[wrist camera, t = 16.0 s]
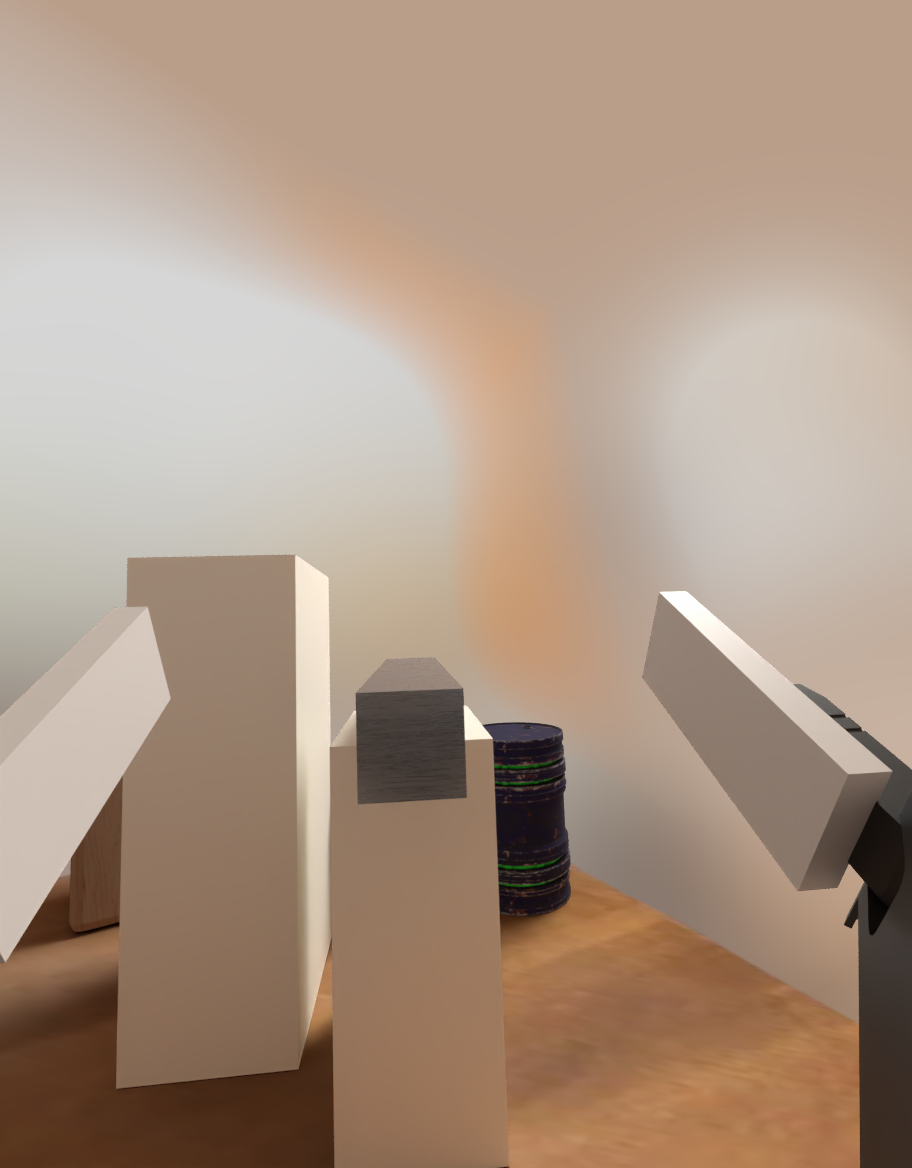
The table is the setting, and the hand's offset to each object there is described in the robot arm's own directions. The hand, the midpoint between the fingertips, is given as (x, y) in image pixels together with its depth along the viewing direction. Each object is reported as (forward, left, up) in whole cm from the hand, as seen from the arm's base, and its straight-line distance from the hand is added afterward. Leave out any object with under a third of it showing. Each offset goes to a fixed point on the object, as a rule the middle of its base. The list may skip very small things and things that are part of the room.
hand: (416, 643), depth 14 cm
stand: (-12, +27, -25) cm, 38 cm away
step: (0, +19, -25) cm, 31 cm away
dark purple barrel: (+10, +39, -25) cm, 47 cm away
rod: (0, +15, -5) cm, 15 cm away
